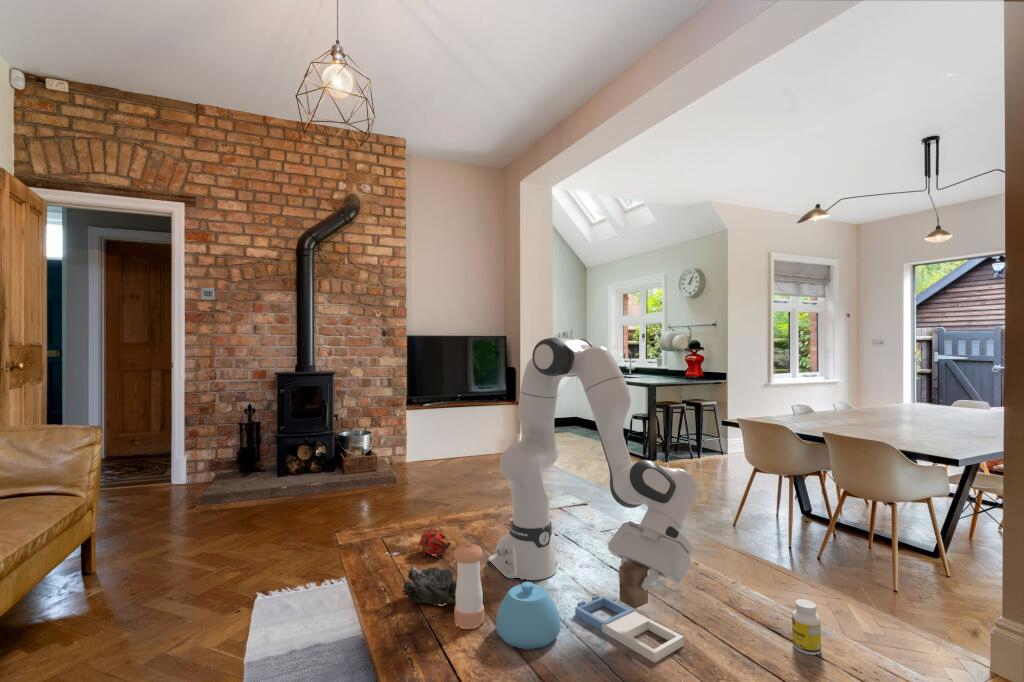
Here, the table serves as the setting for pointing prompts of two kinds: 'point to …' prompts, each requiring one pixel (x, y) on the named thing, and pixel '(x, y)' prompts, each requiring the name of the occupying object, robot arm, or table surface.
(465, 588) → the pepper shaker
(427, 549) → the dragon fruit
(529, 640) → the sugar bowl
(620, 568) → the walnut block
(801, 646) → the supplement bottle
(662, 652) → the two-window frame tray
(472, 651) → the table surface
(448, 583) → the mineral specimen
